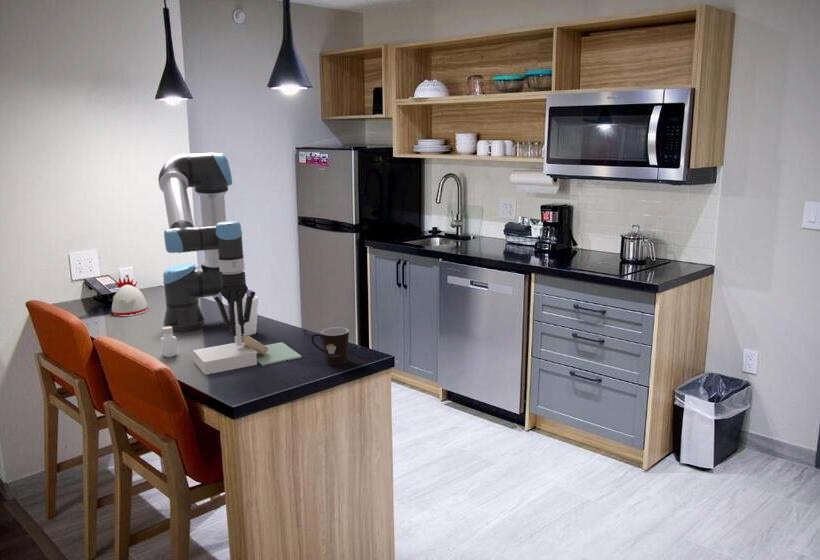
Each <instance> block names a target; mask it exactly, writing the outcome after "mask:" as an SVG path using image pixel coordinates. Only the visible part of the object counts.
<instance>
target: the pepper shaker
mask: <svg viewBox="0 0 820 560" xmlns="http://www.w3.org/2000/svg"><path fill="white" fill-rule="evenodd" d="M161 331H162V332H161V333H162V337H161V338H160V349H161V356H163V357H166V358H171V357H175V356H177V355H179V349H178V342H177V341H178V340H177V337H176V336H175V335H173V334H174V332H173V328H172V327H171V326H167V327H164V326H162V328H161Z"/></svg>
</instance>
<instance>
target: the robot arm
mask: <svg viewBox="0 0 820 560" xmlns="http://www.w3.org/2000/svg"><path fill="white" fill-rule="evenodd" d="M232 177H233V176H232V173H231V167H230V163H229V160H228V158H227V156H226V155H225V154H224V153H221V152H220V153H219V152H204V153H203V152H202V153H201V152H200V153H189V154H188V153H187V154H186V153H182V154H178V155H175V156H173V157H171V158H170V159H168V160H167V161H166V162H165V163H164V165H163V166H162V168H161V169H160V171H159V174H158V187H159V190H161V192H162V193H163V197H164V204H165V209H166V210H165V211H166V215H167V216H166V217H167V223H168V228H169V229H165V230H164V231H163V236H164V246H165V250H166V252H167V253H169V254H177V253H178V254H181V253H188V252H189V253H191V252H201V251H204V258H203V259H202V260H201V262H200V266H197V267H196V264H194V263H191V262H190V263H183V264H178V265H173V266H171V267H169V268H167V269H165V270H164V271H163V274H162V277H163V282H162V283H163V286H164V295H165V296H164V297H165V305H166V309H165V314H164V319H163V321H162V322H163V325H162V326H163V327H167V326H171V327H172V328H173V333H182V332H190V331H194V330H199V329H201V328H204V327H205V326H206V325H205V324H206V317H205V315H204V313H203V311H202V308H201V306H200V302H199V299H203V298H210V297H213V298H212V299H213V300H214V301H215V302H216V304H217V306H218V310H219V312H220V315H221V318H222V321H223V324H225V325H226V326H230V334H231V336H232V337H234V343H235V344H236V345H237V346H242V337H243V336H241V335H242V334H244V324H245V323H246V322H249V319H250V313H251V306H252V300H253V298H254V296H256V292H255V291H254V290H252V289H249V288H248V286H247V283H246V282H247V281H246V280H247V279H246V272H245V271H244V270H245V269H246V268H245V259H244V249H243V248H244V247H243V231H242V226H241V223H240V222H239V221H235V220H229V221H228V220H227V218H226V217H227V216H226V214H227V213H226V199H225V195H226V194H227V192H228V191H229V186H231V185H233V178H232ZM188 188H194V193H196V194H197V195H198V196H199V199H200V200H199V201H200V203H199V204H200V213H201V225H202V226H196V227H195V225H194V220H193V216H192V210H191V205H190V200H189V195H188V190H187V189H188ZM245 295H247V298H246V305H245V311H244V318H243V307H242V303H243V302H242V299H243V297H244V296H245ZM223 298H224V299H225V300H226V301H227V306H228V314H227V311H226V309H225V305H224V303H223ZM234 301H236V306H237V317H238V324H236V322H235V310H234ZM198 328H199V329H198Z"/></svg>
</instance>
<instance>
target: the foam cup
mask: <svg viewBox="0 0 820 560" xmlns="http://www.w3.org/2000/svg"><path fill="white" fill-rule="evenodd" d="M246 298H247V295H246V294H245V296H244V297H243V299H242V302H243V303H242V307H243V318H244V311H245V305H246ZM258 306H259V297H258V296H257V295H255V296H254V298H253V300H252V306H251V313H250V319H249V322H246V323H245V324H244V334H245V335H248V336H253V335H256V333H257V325H258V324H257V323H258ZM234 310H235V322H236V324H238V317H237V306H236V301H234ZM244 334H242V335H244ZM252 334H253V335H252Z"/></svg>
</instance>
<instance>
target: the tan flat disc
mask: <svg viewBox="0 0 820 560" xmlns="http://www.w3.org/2000/svg"><path fill="white" fill-rule="evenodd" d="M241 337H242V343H244V344H245V345H247V346H248V347H250V348H252V349H253V350H255V351H257V352H259V353H260V354H262V355H265V354H266V352H267V350H268V348H267V347H266V346H264V344H262V343H261V342H259V341H258V340H256V339H254V338H252V337H251V336H250V335H248V336H247V335H245V334H244V335H243V336H241Z"/></svg>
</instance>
